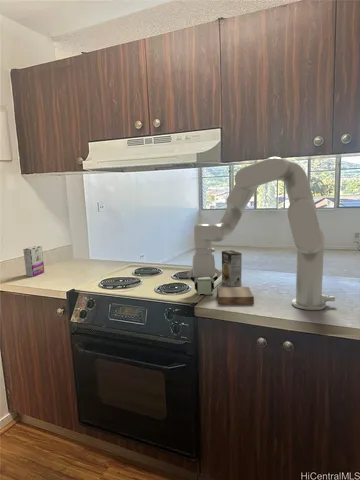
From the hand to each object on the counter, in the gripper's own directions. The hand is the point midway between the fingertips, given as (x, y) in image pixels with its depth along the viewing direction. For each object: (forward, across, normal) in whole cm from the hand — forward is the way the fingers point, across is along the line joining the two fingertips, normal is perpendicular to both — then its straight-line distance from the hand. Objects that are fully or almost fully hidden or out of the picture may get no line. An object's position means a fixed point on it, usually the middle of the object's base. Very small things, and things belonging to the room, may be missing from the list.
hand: (204, 290), depth 148 cm
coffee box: (+2, -14, -15) cm, 20 cm away
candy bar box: (0, +99, -40) cm, 107 cm away
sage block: (+1, 0, 0) cm, 1 cm away
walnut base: (+1, -13, +8) cm, 15 cm away
